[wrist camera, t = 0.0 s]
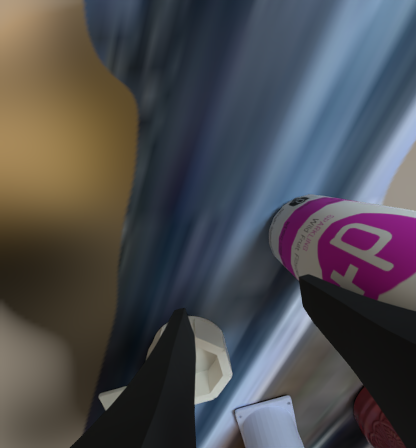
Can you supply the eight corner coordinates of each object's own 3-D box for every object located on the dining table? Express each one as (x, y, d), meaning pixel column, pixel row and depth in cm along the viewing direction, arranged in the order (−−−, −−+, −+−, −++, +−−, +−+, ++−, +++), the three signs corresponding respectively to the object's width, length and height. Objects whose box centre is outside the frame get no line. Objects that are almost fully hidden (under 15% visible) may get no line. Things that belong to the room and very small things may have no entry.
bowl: (232, 363, 25) (238, 392, 22) (165, 381, 25) (161, 413, 22) (215, 306, 23) (219, 329, 20) (142, 326, 23) (133, 352, 20)
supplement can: (251, 240, 21) (379, 388, 6) (301, 177, 20) (602, 185, 5) (303, 278, 23) (500, 462, 8) (353, 222, 21) (693, 322, 7)
